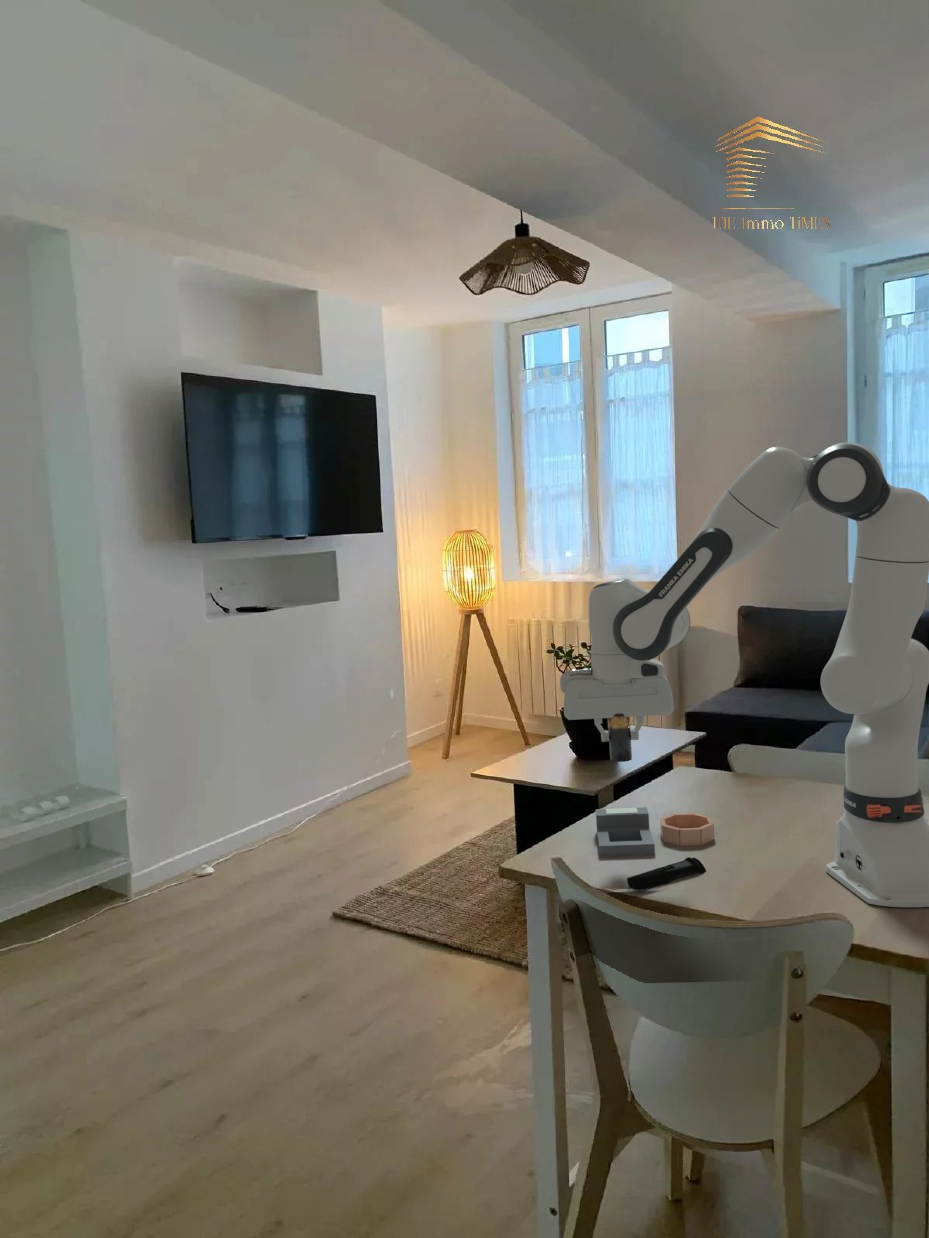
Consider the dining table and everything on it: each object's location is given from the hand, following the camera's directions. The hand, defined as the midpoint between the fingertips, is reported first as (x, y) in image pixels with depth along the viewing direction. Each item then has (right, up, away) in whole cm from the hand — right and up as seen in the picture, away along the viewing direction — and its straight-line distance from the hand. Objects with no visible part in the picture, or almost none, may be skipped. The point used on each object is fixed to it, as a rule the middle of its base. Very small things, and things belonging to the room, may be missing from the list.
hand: (620, 740), depth 175 cm
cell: (0, -4, 0) cm, 4 cm away
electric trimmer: (+6, -23, -15) cm, 28 cm away
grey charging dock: (+2, -21, +4) cm, 21 cm away
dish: (+14, -20, +5) cm, 24 cm away
